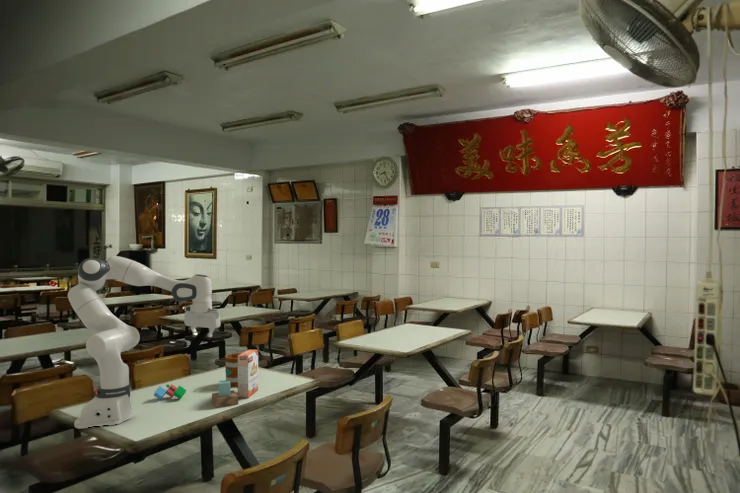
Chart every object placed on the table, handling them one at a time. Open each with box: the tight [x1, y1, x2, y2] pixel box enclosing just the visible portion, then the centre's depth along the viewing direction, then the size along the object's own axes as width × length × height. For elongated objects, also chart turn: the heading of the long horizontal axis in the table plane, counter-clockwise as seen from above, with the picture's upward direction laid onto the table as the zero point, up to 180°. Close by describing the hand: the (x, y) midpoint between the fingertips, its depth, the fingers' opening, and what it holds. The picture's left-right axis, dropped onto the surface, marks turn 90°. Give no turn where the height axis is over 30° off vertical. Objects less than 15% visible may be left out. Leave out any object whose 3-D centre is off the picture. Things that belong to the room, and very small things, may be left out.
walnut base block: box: [211, 389, 239, 409], centre depth 232 cm, size 10×10×4 cm
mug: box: [224, 352, 242, 388], centre depth 262 cm, size 20×14×15 cm
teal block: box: [218, 379, 231, 397], centre depth 232 cm, size 5×5×6 cm
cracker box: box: [237, 349, 259, 399], centre depth 246 cm, size 14×6×21 cm, turn 173°
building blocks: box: [153, 383, 187, 400], centre depth 239 cm, size 8×8×12 cm
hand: (202, 336), depth 238 cm, fingers open, 8 cm apart
